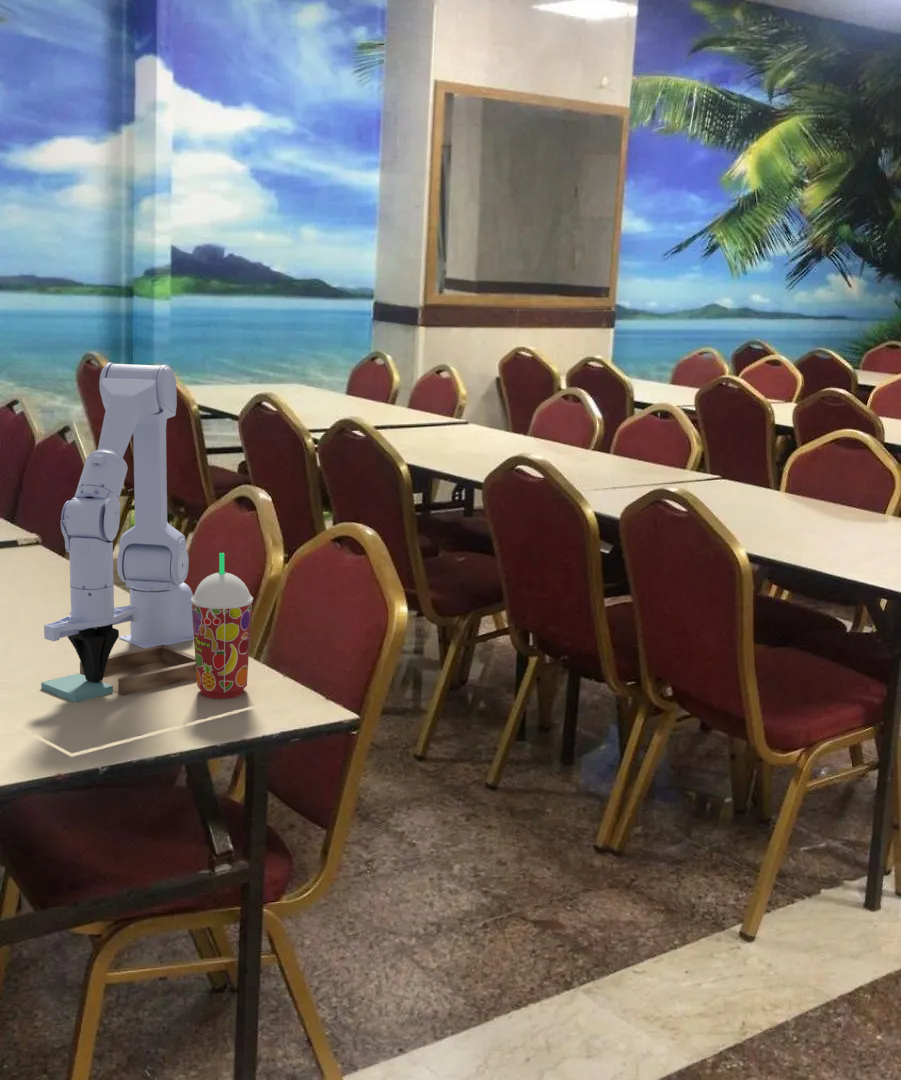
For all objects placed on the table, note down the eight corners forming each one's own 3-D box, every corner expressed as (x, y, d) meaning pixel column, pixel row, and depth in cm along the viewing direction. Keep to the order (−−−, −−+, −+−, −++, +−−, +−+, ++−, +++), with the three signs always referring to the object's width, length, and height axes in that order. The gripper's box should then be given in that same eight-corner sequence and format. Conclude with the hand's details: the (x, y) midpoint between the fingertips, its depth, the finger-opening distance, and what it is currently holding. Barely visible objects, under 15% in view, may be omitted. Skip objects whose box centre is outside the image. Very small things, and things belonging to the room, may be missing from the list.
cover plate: (78, 685, 187) (78, 673, 187) (113, 698, 182) (112, 685, 182) (41, 694, 183) (41, 682, 182) (75, 708, 178) (75, 695, 177)
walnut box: (164, 660, 198) (164, 644, 198) (207, 677, 191) (207, 661, 190) (80, 679, 188) (79, 662, 188) (122, 698, 181) (122, 680, 180)
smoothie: (185, 688, 186) (184, 548, 182) (244, 682, 189) (244, 545, 185) (199, 706, 178) (198, 561, 174) (259, 700, 182) (260, 558, 178)
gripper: (115, 571, 189) (117, 662, 192) (28, 588, 178) (32, 686, 180) (148, 579, 185) (149, 672, 188) (61, 598, 173) (64, 697, 176)
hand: (94, 680), depth 184 cm, fingers closed
